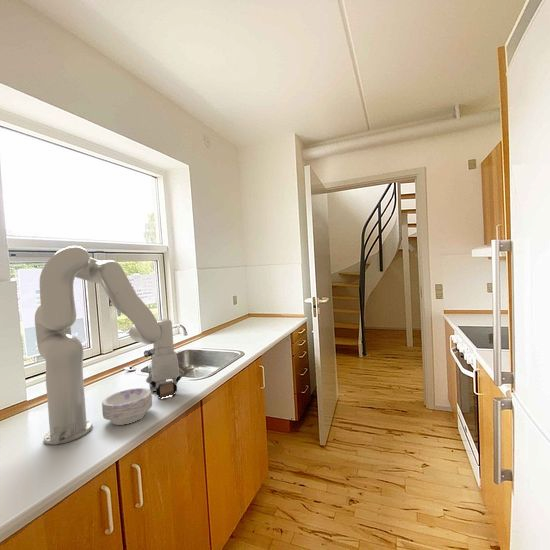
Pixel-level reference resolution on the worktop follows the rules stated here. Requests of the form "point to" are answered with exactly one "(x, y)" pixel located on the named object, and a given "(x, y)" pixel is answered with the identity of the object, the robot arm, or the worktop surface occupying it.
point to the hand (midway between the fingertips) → (166, 394)
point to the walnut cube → (166, 388)
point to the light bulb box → (151, 378)
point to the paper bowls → (127, 405)
